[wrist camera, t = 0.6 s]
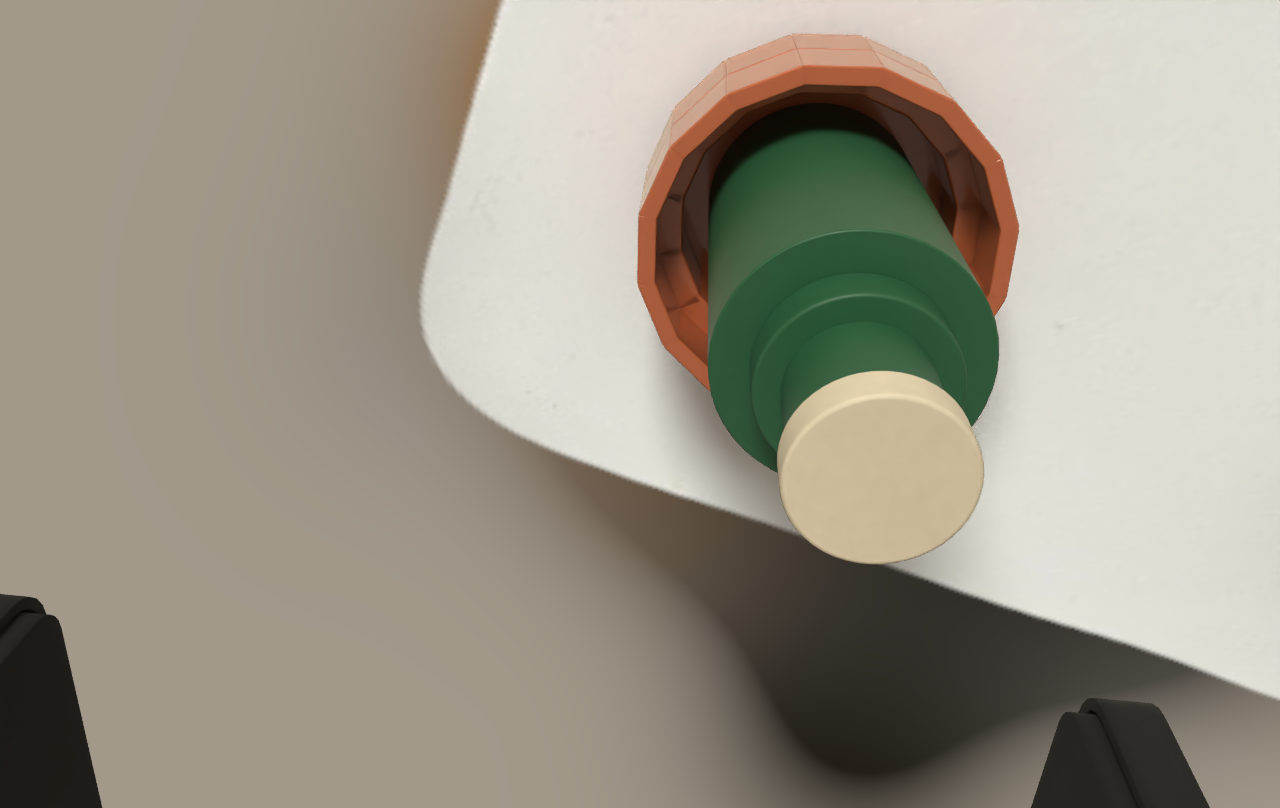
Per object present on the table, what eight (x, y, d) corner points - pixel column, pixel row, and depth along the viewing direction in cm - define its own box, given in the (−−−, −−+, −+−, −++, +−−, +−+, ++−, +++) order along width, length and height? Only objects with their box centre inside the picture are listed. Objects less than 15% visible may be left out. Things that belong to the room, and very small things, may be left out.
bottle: (679, 147, 33) (656, 391, 19) (882, 70, 31) (1017, 274, 18) (747, 326, 35) (770, 656, 22) (938, 262, 34) (1092, 571, 20)
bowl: (597, 104, 33) (580, 150, 29) (928, -24, 31) (964, 3, 26) (711, 385, 37) (711, 462, 33) (1009, 289, 35) (1052, 358, 31)
